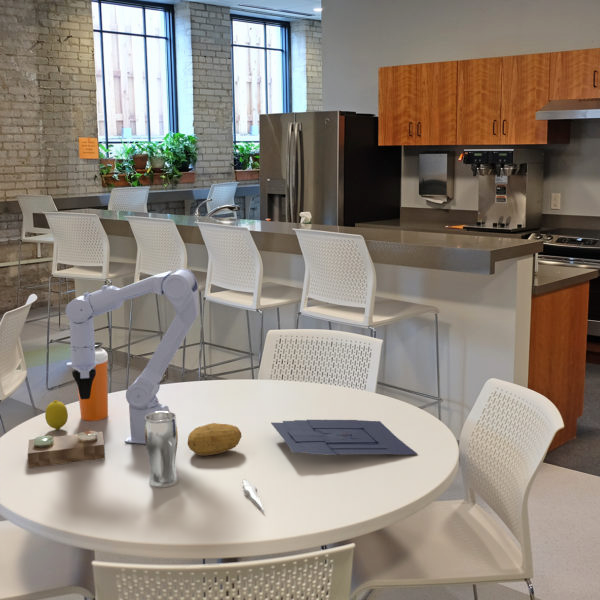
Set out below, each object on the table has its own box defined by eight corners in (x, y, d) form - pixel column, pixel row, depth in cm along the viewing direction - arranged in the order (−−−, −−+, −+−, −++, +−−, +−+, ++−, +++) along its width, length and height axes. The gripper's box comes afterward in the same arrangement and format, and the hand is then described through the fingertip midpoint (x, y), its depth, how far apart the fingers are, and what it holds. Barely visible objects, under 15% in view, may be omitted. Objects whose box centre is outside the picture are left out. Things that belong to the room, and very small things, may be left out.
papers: (267, 430, 203) (268, 416, 203) (378, 430, 212) (379, 417, 212) (294, 467, 180) (295, 451, 180) (417, 465, 189) (418, 450, 189)
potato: (189, 446, 197) (188, 419, 195) (242, 444, 197) (241, 417, 196) (186, 461, 188) (185, 432, 186) (241, 459, 188) (240, 431, 187)
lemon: (55, 435, 206) (53, 405, 204) (42, 430, 209) (39, 401, 207) (73, 429, 210) (71, 399, 208) (60, 424, 213) (57, 395, 212)
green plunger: (54, 452, 193) (53, 434, 192) (54, 459, 189) (53, 441, 188) (35, 454, 192) (34, 436, 191) (35, 461, 188) (33, 443, 187)
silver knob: (98, 447, 196) (96, 429, 195) (98, 454, 192) (97, 436, 191) (79, 449, 195) (77, 432, 194) (79, 456, 190) (78, 438, 189)
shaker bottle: (118, 414, 220) (114, 343, 216) (94, 424, 213) (89, 350, 209) (95, 409, 225) (90, 339, 221) (70, 418, 218) (65, 346, 214)
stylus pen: (238, 486, 174) (237, 478, 174) (249, 484, 175) (249, 476, 175) (257, 516, 160) (257, 507, 160) (270, 514, 161) (269, 505, 161)
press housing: (103, 445, 198) (102, 431, 198) (105, 458, 190) (104, 444, 189) (30, 453, 194) (28, 439, 193) (28, 467, 185) (27, 453, 185)
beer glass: (165, 491, 172) (161, 423, 169) (140, 484, 175) (136, 418, 172) (186, 479, 178) (183, 414, 175) (162, 472, 181) (158, 408, 178)
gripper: (65, 339, 204) (68, 390, 207) (66, 353, 191) (68, 408, 193) (94, 337, 206) (96, 388, 209) (97, 351, 193) (99, 406, 195)
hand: (85, 398), depth 201 cm, fingers closed
